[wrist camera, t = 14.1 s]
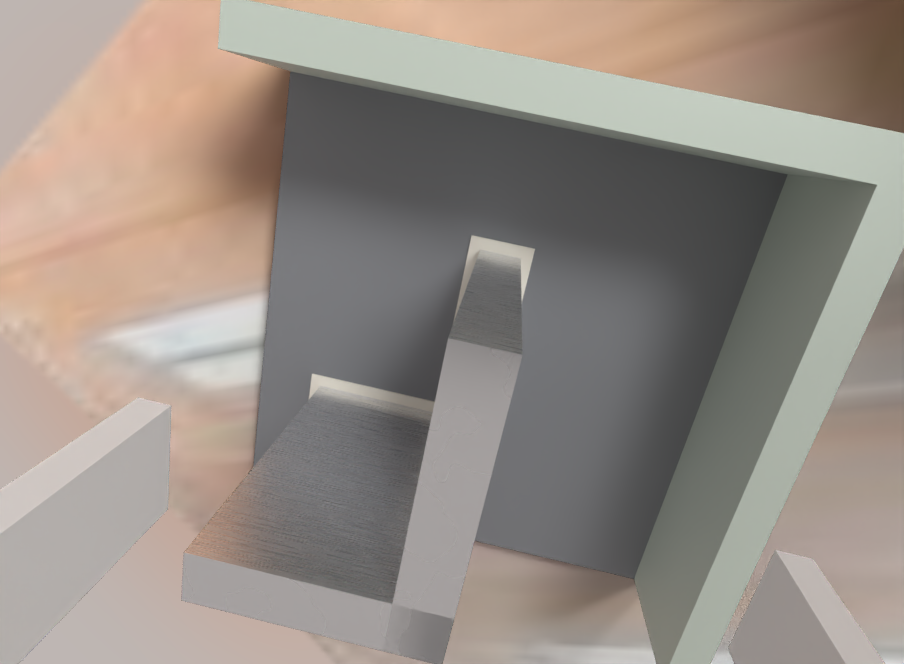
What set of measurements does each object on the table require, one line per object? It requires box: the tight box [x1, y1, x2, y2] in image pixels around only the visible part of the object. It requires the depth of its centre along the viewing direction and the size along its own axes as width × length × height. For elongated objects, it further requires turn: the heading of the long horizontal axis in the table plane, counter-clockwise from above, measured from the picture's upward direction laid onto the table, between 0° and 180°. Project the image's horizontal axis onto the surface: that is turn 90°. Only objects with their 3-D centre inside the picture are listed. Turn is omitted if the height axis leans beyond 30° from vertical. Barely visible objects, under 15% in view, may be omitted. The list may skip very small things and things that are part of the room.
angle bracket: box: [181, 250, 523, 664], centre depth 21 cm, size 10×8×12 cm
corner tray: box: [218, 0, 904, 664], centre depth 24 cm, size 22×22×7 cm
